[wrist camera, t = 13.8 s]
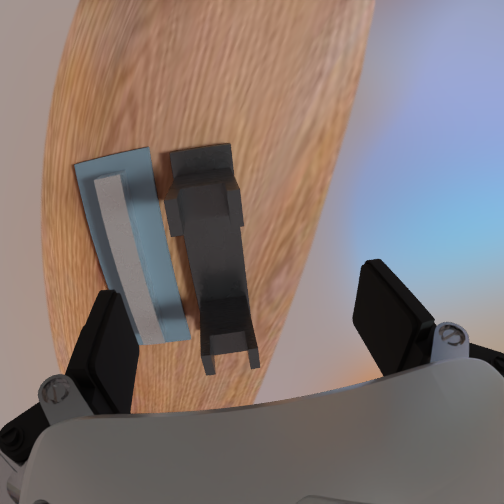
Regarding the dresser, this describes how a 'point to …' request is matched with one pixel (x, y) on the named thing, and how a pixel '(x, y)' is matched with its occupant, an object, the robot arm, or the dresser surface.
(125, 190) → the rail
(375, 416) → the robot arm
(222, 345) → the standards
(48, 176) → the dresser surface
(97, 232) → the mat
